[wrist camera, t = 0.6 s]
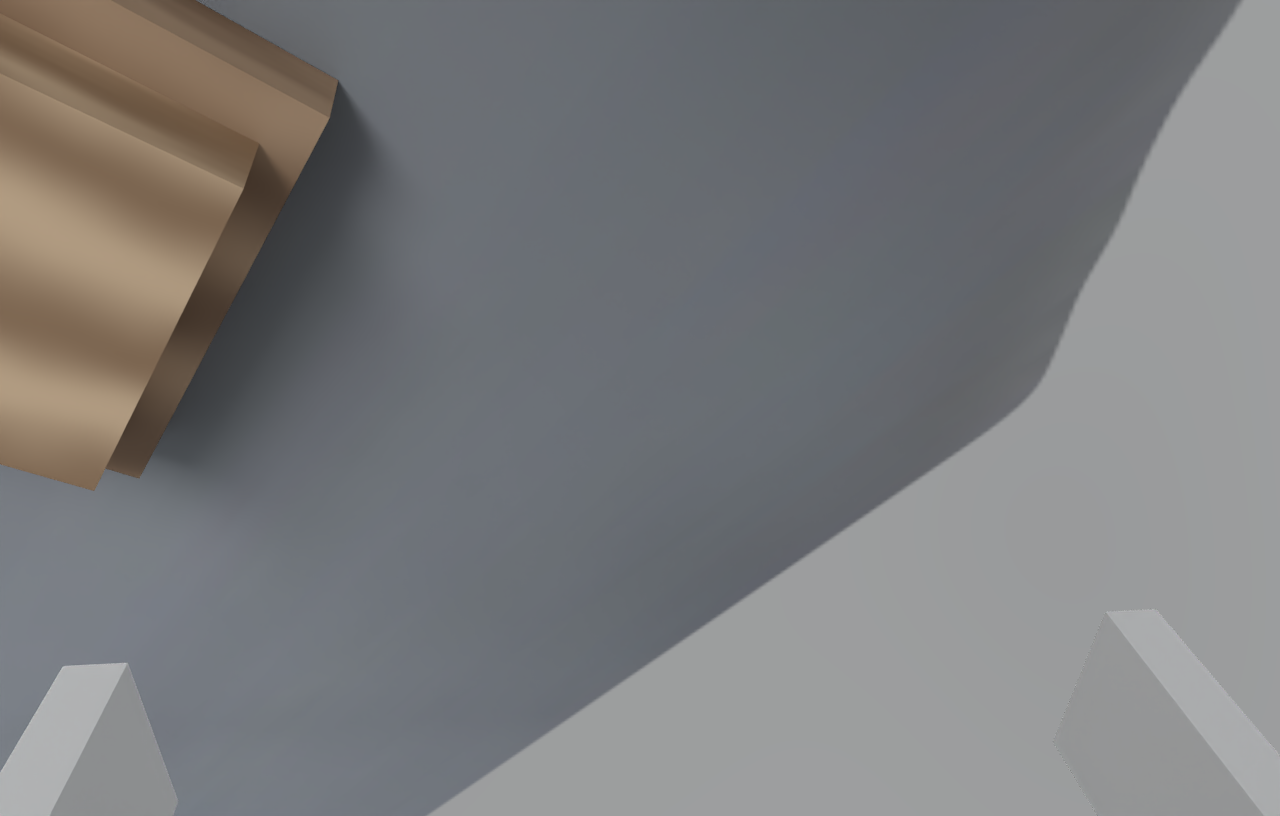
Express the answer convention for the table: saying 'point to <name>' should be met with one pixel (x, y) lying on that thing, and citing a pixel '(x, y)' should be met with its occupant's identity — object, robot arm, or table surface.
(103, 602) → the table surface
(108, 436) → the pedestal
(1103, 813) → the robot arm
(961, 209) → the table surface
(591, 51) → the table surface
